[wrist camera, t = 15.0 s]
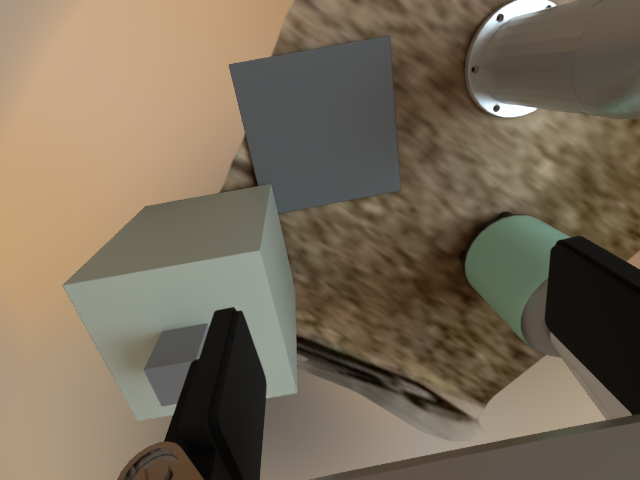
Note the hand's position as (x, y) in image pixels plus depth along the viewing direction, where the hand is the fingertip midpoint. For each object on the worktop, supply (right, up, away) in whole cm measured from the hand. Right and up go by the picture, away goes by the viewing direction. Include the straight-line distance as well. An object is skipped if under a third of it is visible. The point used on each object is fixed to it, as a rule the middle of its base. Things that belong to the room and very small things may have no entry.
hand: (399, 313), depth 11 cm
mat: (-2, +15, +34) cm, 37 cm away
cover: (-15, +1, +38) cm, 41 cm away
